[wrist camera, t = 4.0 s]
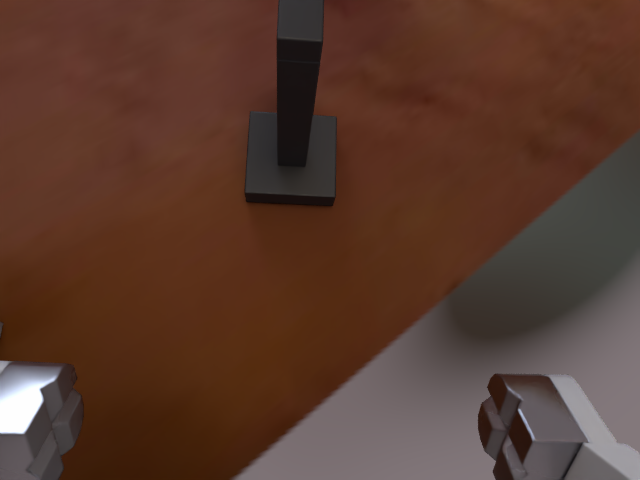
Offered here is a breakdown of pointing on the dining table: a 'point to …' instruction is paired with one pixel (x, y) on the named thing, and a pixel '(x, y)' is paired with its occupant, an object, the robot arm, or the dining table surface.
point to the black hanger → (294, 119)
